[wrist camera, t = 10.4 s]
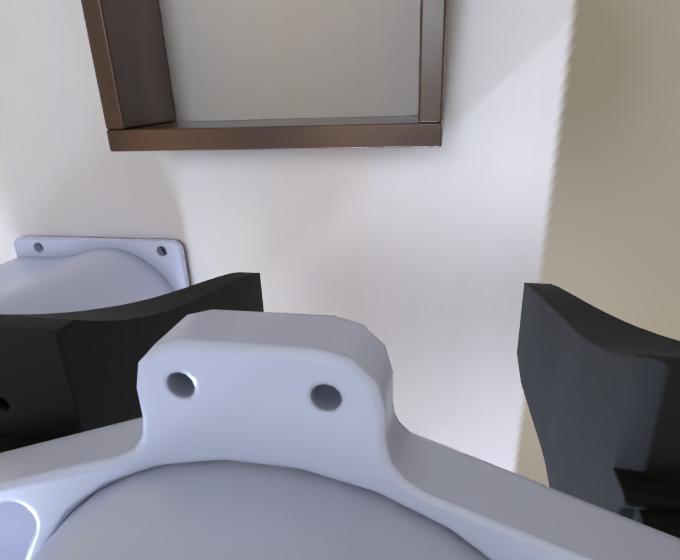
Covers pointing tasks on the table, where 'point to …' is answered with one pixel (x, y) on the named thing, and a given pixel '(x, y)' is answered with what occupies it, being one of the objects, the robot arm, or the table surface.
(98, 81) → the cubby
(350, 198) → the table surface
